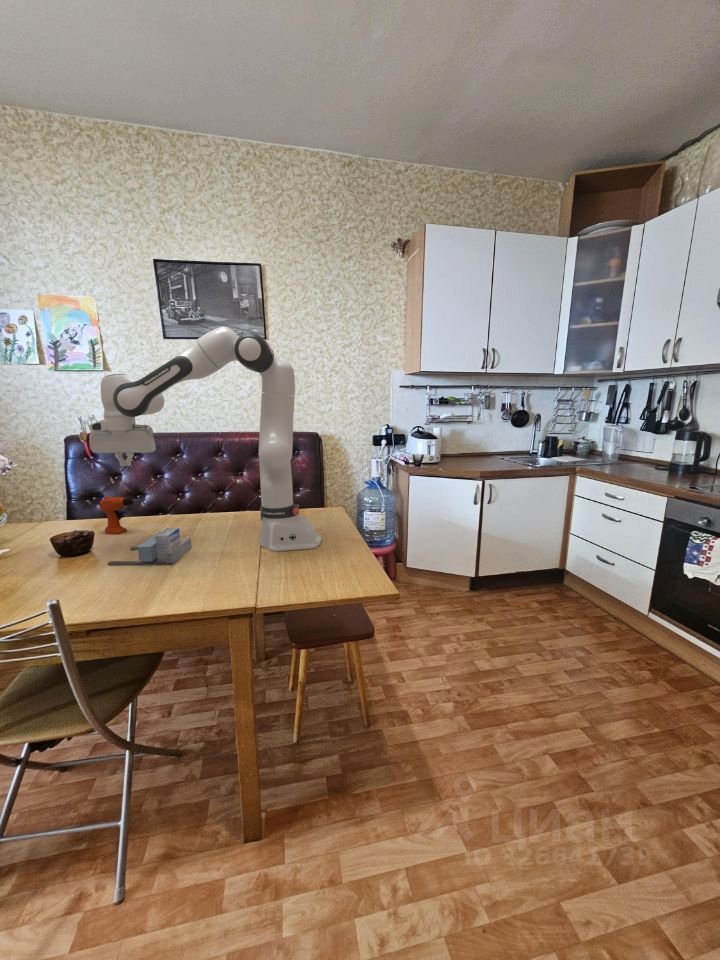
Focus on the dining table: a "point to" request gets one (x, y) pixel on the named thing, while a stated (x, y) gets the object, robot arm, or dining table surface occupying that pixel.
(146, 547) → the vise jaw
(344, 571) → the dining table surface
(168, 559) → the vise
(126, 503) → the toy drill
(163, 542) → the medicine box
